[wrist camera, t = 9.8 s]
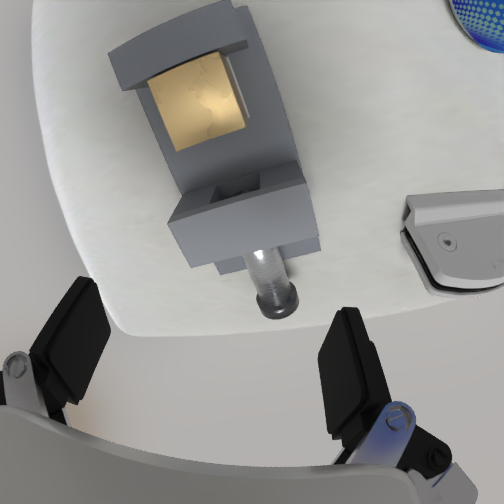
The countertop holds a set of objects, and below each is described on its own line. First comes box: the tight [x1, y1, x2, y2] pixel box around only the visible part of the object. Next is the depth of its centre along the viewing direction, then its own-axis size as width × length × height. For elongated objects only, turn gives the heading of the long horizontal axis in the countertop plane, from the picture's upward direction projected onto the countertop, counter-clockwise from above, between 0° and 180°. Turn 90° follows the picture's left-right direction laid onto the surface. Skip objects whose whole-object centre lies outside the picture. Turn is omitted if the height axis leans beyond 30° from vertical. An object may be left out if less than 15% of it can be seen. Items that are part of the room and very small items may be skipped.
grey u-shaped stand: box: [108, 0, 321, 275], centre depth 19 cm, size 22×10×6 cm, turn 18°
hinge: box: [401, 190, 504, 298], centre depth 21 cm, size 17×5×10 cm, turn 100°
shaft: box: [226, 189, 299, 319], centre depth 23 cm, size 11×4×4 cm, turn 18°
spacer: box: [147, 51, 248, 152], centre depth 16 cm, size 5×4×4 cm
